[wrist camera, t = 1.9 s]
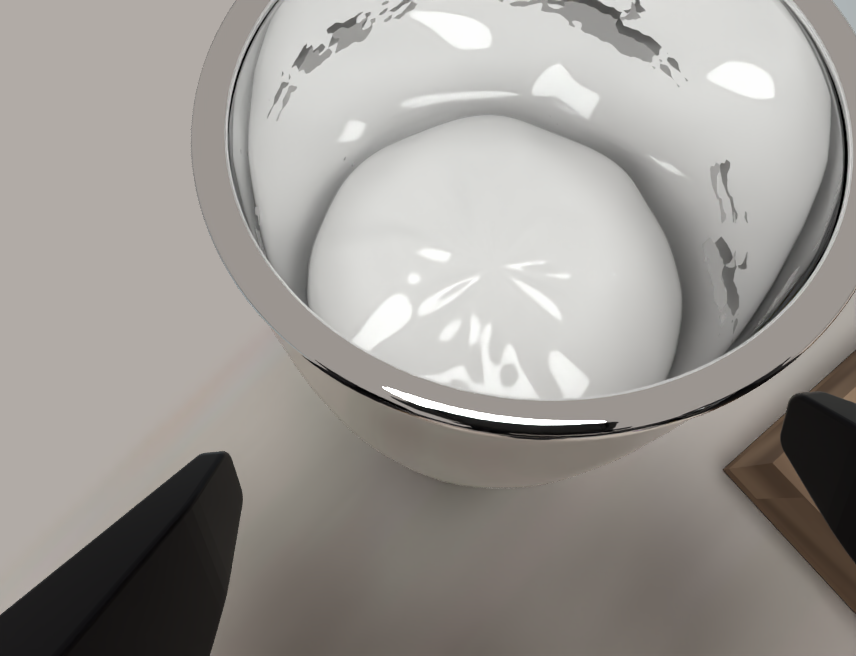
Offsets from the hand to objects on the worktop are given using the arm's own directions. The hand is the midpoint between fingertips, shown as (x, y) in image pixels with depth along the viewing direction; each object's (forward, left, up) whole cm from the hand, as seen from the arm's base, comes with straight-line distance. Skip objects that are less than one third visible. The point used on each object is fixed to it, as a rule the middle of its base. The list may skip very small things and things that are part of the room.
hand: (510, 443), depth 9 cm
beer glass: (+3, +1, -11) cm, 11 cm away
